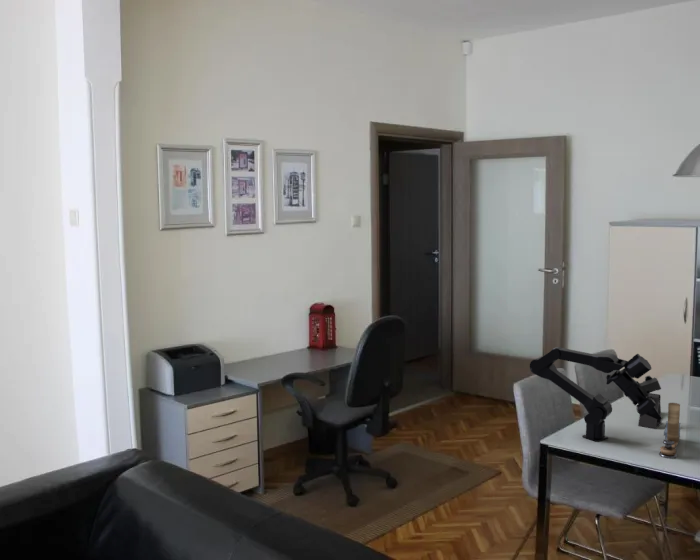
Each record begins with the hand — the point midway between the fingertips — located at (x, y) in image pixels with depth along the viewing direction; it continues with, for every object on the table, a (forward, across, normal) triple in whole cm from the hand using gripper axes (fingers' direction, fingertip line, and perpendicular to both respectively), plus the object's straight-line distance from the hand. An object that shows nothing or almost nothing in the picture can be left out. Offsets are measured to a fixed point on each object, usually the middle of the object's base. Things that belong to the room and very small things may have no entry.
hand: (660, 419), depth 249 cm
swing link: (+8, -3, +4) cm, 10 cm away
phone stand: (+7, +24, +7) cm, 26 cm away
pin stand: (+8, -10, +6) cm, 13 cm away
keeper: (+10, +6, +3) cm, 12 cm away
